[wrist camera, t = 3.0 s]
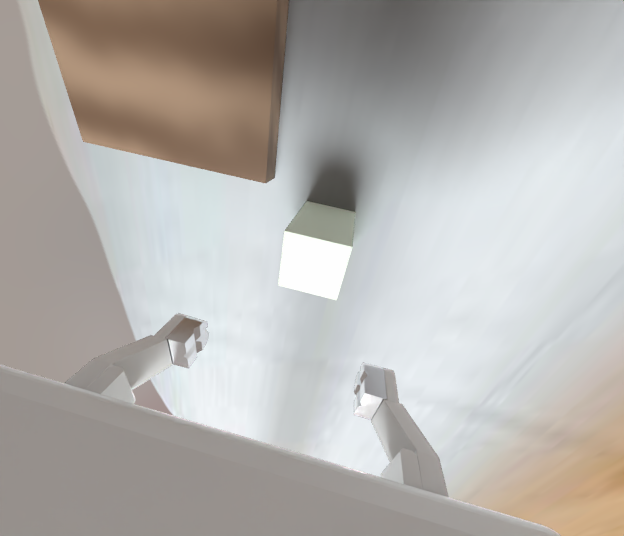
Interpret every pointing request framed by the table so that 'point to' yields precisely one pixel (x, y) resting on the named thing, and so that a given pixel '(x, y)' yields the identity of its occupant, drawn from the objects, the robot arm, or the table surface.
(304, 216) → the sage block
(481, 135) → the table surface
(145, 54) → the walnut base
